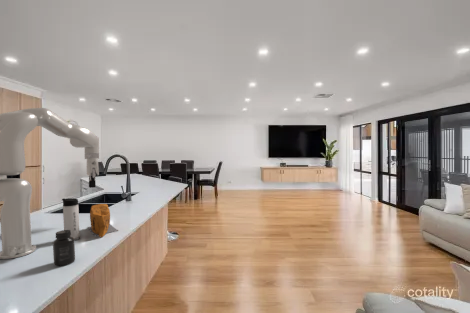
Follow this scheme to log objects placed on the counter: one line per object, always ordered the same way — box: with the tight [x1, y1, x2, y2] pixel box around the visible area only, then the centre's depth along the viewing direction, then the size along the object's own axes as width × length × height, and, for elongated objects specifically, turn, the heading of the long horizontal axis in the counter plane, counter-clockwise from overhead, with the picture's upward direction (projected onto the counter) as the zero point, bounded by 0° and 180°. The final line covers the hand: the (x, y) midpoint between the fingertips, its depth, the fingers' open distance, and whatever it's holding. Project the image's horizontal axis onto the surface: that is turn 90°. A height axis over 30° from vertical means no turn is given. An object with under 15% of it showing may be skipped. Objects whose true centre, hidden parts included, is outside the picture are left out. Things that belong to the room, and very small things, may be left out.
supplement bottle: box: [52, 229, 76, 267], centre depth 98 cm, size 7×7×12 cm
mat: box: [87, 223, 119, 237], centre depth 139 cm, size 19×11×1 cm, turn 40°
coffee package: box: [89, 203, 111, 238], centre depth 134 cm, size 10×12×22 cm
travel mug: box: [61, 197, 81, 241], centre depth 124 cm, size 6×7×20 cm
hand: (92, 187), depth 152 cm, fingers closed
